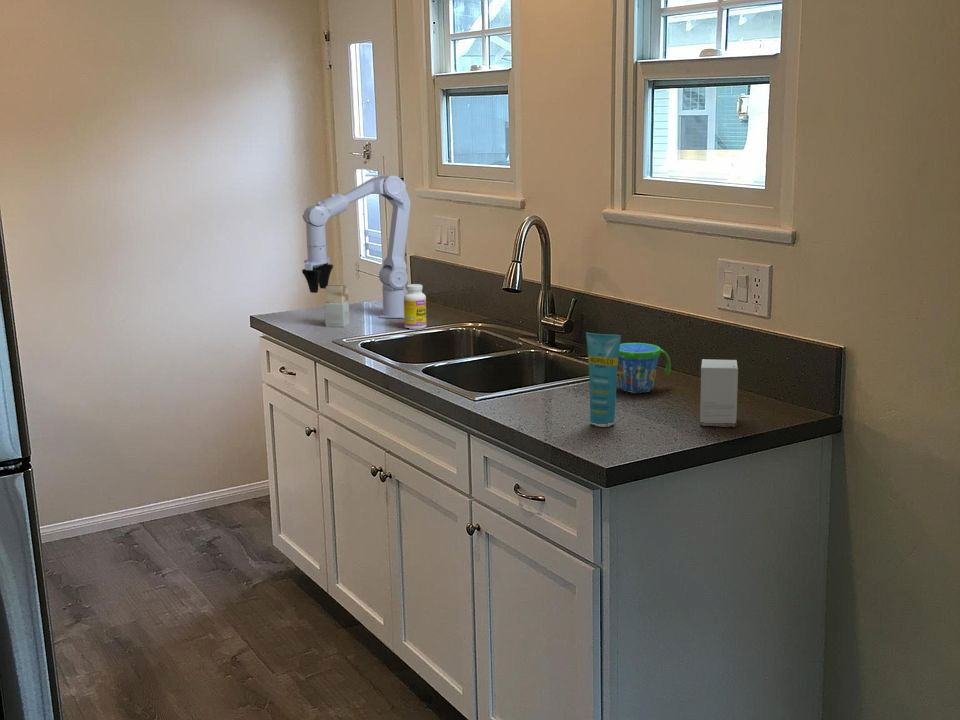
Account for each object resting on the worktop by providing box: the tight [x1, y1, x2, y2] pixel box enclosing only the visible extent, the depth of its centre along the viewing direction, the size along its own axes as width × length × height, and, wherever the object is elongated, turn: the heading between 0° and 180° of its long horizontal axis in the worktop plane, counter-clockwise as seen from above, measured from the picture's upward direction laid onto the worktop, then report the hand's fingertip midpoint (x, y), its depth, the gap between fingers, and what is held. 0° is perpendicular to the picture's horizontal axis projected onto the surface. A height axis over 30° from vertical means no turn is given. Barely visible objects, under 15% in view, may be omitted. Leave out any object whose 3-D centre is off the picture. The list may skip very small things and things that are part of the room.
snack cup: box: [617, 342, 672, 393], centre depth 240 cm, size 16×10×10 cm
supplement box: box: [699, 358, 739, 424], centre depth 215 cm, size 7×7×13 cm
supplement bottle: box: [403, 283, 428, 330], centre depth 313 cm, size 7×7×13 cm
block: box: [325, 283, 349, 303], centre depth 318 cm, size 5×5×5 cm
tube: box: [585, 332, 622, 424], centre depth 214 cm, size 7×5×19 cm, turn 69°
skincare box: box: [323, 300, 351, 328], centre depth 320 cm, size 6×6×7 cm
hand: (318, 290), depth 319 cm, fingers open, 7 cm apart
